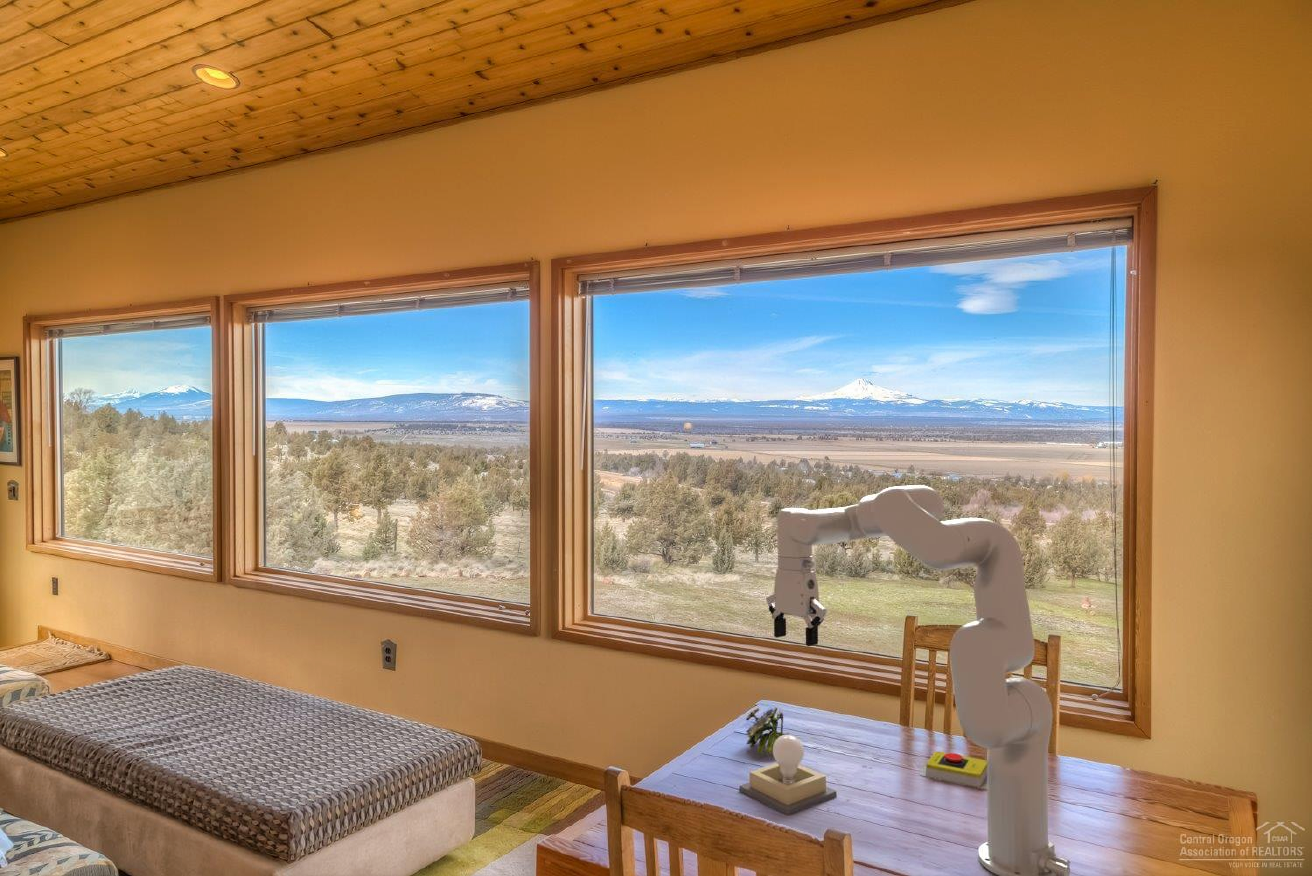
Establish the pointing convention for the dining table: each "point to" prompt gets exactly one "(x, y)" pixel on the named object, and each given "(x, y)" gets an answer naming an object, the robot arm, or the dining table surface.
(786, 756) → the lightbulb
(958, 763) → the emergency button
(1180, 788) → the dining table surface
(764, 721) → the green leafy plant
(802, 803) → the socket block
